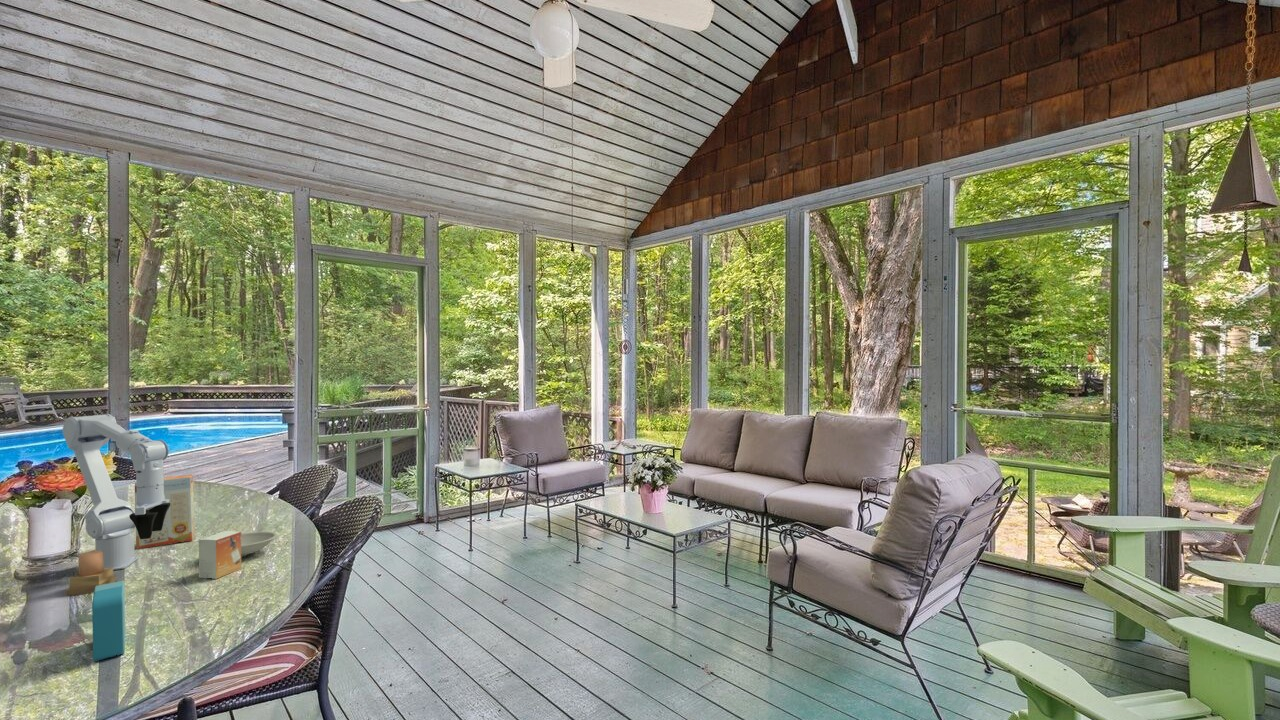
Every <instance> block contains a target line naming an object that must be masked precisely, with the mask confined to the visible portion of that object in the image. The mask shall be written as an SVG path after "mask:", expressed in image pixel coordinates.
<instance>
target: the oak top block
mask: <svg viewBox="0 0 1280 720" xmlns="http://www.w3.org/2000/svg"><path fill="white" fill-rule="evenodd" d="M113 576H114V570H113V567H112V568H104V571H103V572H101V573H99V574H95V575H91V576H79V573H77V574H75V575H74V576H71V577H69V588H75V587H85V586H95V585H100V584H102V583H103V582H105V581H107V580H108V579H110V578H112V577H113Z"/></svg>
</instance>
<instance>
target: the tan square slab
mask: <svg viewBox="0 0 1280 720" xmlns="http://www.w3.org/2000/svg"><path fill="white" fill-rule="evenodd" d="M114 582H116V575H113V577H112V578H110V579H108V580H107V581H105V582H103V583H102V584H100V585H104V584H109V583H114ZM96 586H99V585H95V586H85V587H75V588H70V587H68V588H67V589H66V593H65V595H66V597H70V596H79V595H86V594H94V590H95V587H96Z"/></svg>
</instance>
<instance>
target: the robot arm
mask: <svg viewBox="0 0 1280 720" xmlns="http://www.w3.org/2000/svg"><path fill="white" fill-rule="evenodd" d="M61 431H62V434H63V437H64V440H65V443H66V445H67V448H68V449H69V450H71V451H73V453H74V457H75V459H76V461H77V464H78V466H79V467H78V468H79V470H80V472H81V476H82V478H83V480H84V484H85V486H86V488H87V492H88V493H89V496H90V499H91V502H92V505H93V506H92V507H91V508H90V509H89V510H88V511H87V512H86V514H84V521H85V530H86V531H85V532H86V533H87V535H88V536H89V537H91V538H92V539H94V540H95V551H103V567H104V568H112V567H113V571H115V570H116V571H117V570H123V569H126V568H128V567H129V566H130V565H131V564H133V563H135V562H136V561H137V560H138V559H139V557H140V556H136V555H135V537H134V534H133V532H134V531H133V530H134V529H135V530H136V529H137V531H138V534H139V537H140V539H149V538H151V535H152V531H161V530H162V527H163V523H164V519H165V515H166V513H167V510H168V509H169V507H170V503H168V502H169V499H165V495H164V477H165V475H164V461H165V460H166V459H167V458H168V456H169V451H170V450H169V447H168V444H167V442H165V441H164V440H163V439H157V440H152V439H150V437H148V436H145V435H143V434H142V433H140V431H139V430H137V429H129V430H126V429H125V428H123V427H122V426H121V425H120V424H117V420H116V417H115V416H113V415H112V414H109V413H104V414H97V415H85V416H69V417H68V418H66V419H65V421H64V423H63V426H62V430H61ZM110 440H111V441H114V442H115V446H116V447H117V448H118V449H120V450H121V451H123V452H124V453H126V454H128V455H129V456H130V460H131V462H132V464H133V470H134V471H136V472H135V474H136V475H135V476H136V477H135V478H136V482H135V483H136V484H137V503H136V508H135V507H134V509H133V507H132V505H131V502H130V501H127V500H124V499H121V498H118V496H117V493H116V490H115V487H114V485H113V482H112V479H111V477H110V474H109V472H108V469H107V466H106V463H105V461H104V458H103V456H102V453H101V451H100V450H101V448H102V447H103V446H106V445H107V444H108V442H109V441H110Z"/></svg>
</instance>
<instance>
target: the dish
mask: <svg viewBox="0 0 1280 720" xmlns="http://www.w3.org/2000/svg"><path fill="white" fill-rule="evenodd" d="M277 537H278V533H277V532H273V531H252V532H244V533H241V558H243V556H244V557H246V556H247V555H250V554H254V553H255V552H259V551H261V550H262V549H264V548H265V547H267V546H268V545H270V543H271V542H272V541H273V540H274V539H276V538H277Z"/></svg>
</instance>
